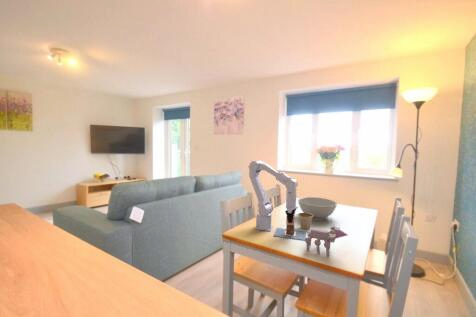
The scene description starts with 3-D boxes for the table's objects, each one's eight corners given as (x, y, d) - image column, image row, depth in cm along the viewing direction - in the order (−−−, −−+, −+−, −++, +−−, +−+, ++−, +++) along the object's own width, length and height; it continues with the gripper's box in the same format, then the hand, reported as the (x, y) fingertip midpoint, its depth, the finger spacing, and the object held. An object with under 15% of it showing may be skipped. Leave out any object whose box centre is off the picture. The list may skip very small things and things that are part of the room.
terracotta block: (286, 224, 139) (286, 216, 139) (287, 222, 143) (287, 214, 143) (294, 225, 138) (294, 217, 137) (294, 222, 142) (295, 214, 141)
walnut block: (286, 234, 139) (286, 226, 139) (287, 231, 144) (287, 223, 143) (293, 235, 138) (294, 227, 138) (294, 232, 142) (294, 224, 142)
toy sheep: (348, 252, 118) (349, 226, 117) (346, 262, 109) (347, 235, 108) (308, 243, 128) (308, 219, 127) (303, 252, 119) (303, 226, 118)
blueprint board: (273, 236, 138) (273, 235, 138) (277, 228, 150) (277, 227, 150) (305, 240, 132) (305, 239, 132) (306, 232, 144) (306, 231, 144)
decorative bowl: (329, 212, 184) (330, 197, 183) (341, 224, 157) (342, 207, 156) (295, 211, 187) (295, 196, 186) (300, 223, 160) (301, 205, 159)
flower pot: (294, 226, 154) (295, 213, 154) (306, 224, 158) (306, 211, 157) (303, 231, 146) (303, 217, 145) (315, 229, 149) (316, 216, 148)
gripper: (297, 202, 131) (296, 226, 132) (298, 196, 145) (298, 218, 146) (284, 201, 133) (283, 224, 134) (287, 196, 147) (286, 217, 148)
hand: (290, 221), depth 140 cm, fingers closed on terracotta block, 4 cm apart
